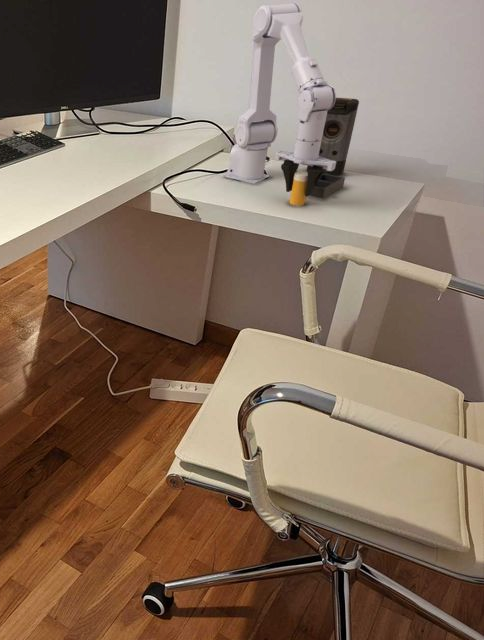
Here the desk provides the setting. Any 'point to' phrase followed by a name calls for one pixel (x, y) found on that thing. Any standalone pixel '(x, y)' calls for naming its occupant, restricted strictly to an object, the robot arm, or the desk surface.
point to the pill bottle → (299, 188)
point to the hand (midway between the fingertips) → (298, 193)
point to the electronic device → (338, 133)
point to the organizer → (327, 185)
